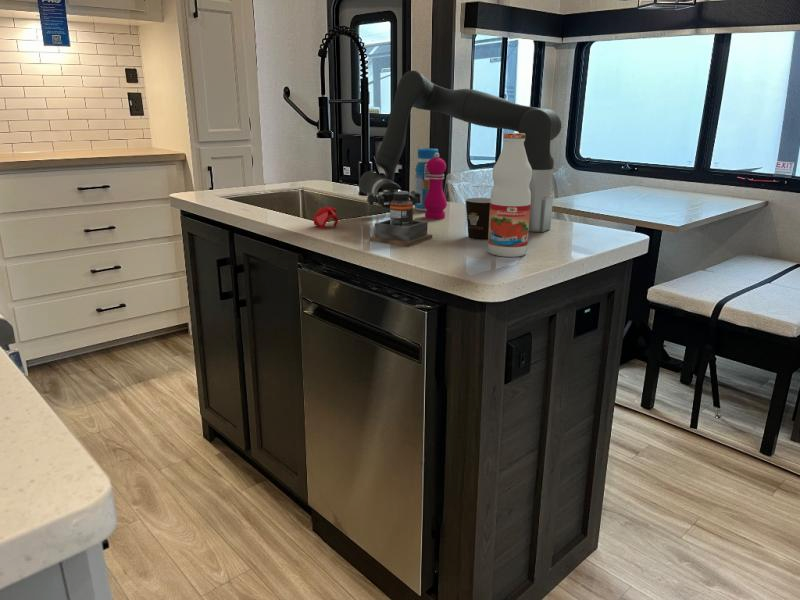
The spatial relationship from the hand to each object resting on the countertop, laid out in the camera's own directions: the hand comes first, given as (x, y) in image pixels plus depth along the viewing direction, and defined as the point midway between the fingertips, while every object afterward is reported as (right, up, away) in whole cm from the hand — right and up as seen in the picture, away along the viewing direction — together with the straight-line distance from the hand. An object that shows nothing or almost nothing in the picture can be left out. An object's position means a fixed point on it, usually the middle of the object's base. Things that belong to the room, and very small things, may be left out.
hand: (398, 201), depth 162 cm
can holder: (+1, -10, 0) cm, 10 cm away
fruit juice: (+26, -15, -13) cm, 33 cm away
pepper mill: (+11, 0, +32) cm, 34 cm away
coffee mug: (+22, -10, +2) cm, 25 cm away
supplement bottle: (+1, -9, 0) cm, 9 cm away
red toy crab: (-21, -5, +15) cm, 26 cm away
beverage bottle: (+9, +5, +47) cm, 48 cm away
